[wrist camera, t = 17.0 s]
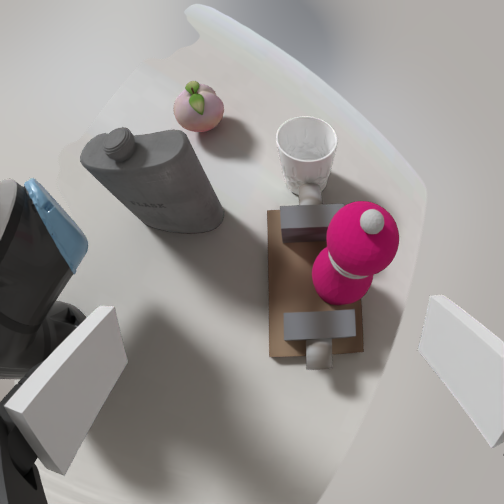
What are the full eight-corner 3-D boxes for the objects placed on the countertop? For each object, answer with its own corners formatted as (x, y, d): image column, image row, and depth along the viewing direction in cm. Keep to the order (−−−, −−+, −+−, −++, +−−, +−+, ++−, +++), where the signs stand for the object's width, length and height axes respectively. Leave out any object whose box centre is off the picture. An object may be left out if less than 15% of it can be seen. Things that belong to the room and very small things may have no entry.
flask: (133, 227, 46) (58, 161, 28) (144, 195, 48) (80, 122, 29) (218, 239, 44) (166, 159, 25) (227, 203, 45) (186, 112, 26)
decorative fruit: (177, 122, 53) (159, 86, 43) (215, 104, 53) (203, 66, 43) (193, 153, 49) (174, 115, 40) (235, 132, 50) (223, 92, 40)
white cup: (341, 183, 44) (350, 142, 34) (301, 210, 43) (302, 172, 34) (309, 150, 46) (310, 108, 37) (270, 174, 46) (263, 133, 36)
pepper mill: (325, 246, 39) (346, 157, 21) (372, 270, 37) (432, 199, 19) (300, 293, 38) (304, 237, 19) (349, 319, 36) (402, 287, 17)
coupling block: (270, 367, 37) (265, 371, 31) (267, 205, 44) (263, 183, 38) (361, 362, 35) (373, 365, 29) (347, 202, 43) (354, 179, 36)
